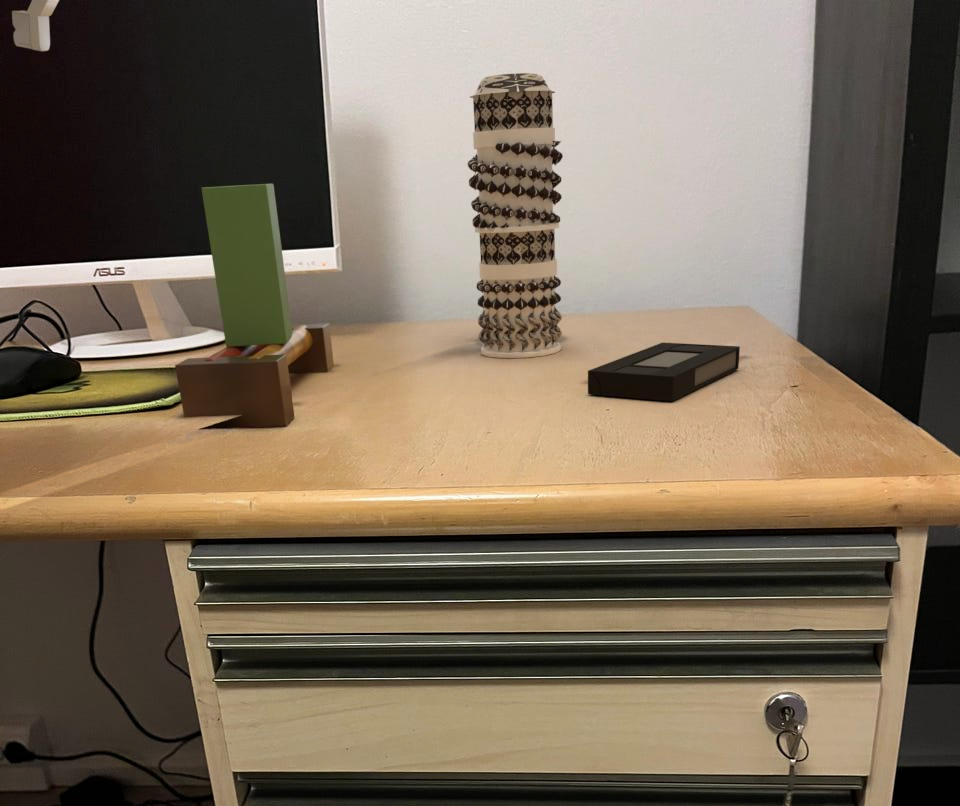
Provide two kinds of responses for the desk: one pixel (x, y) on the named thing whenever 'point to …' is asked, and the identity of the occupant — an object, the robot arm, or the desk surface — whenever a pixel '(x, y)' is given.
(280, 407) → the rack
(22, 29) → the robot arm
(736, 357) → the vhs tape
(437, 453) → the desk surface
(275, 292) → the bar
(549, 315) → the decorative candle
